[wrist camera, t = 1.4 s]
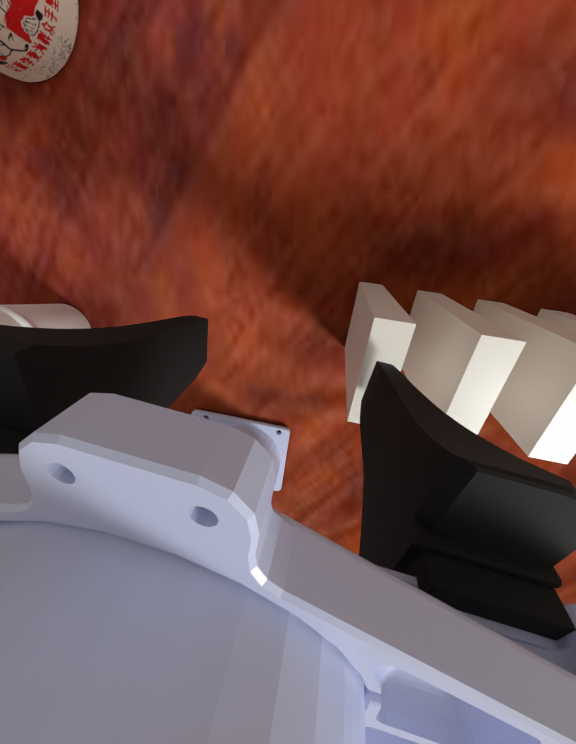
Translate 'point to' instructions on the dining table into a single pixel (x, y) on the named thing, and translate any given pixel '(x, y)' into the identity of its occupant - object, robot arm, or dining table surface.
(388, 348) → the domino
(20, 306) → the soft serve ice cream cone
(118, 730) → the robot arm
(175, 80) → the dining table surface
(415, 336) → the domino
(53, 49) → the teacup with lid
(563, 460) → the domino
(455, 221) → the dining table surface
